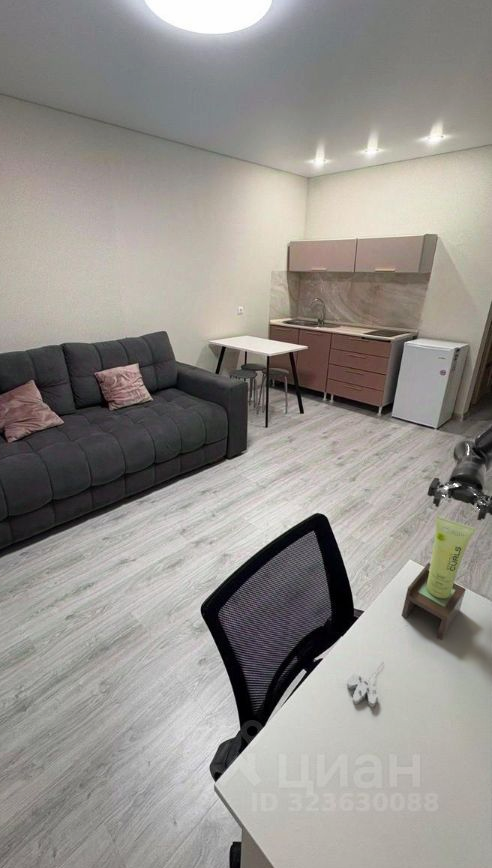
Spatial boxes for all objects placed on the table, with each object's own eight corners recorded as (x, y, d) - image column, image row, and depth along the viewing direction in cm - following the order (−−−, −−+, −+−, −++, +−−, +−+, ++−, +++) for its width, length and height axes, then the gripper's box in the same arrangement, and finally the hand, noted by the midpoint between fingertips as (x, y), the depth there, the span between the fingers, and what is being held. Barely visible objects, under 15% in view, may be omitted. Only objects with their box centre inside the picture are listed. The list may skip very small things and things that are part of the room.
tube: (430, 600, 92) (449, 529, 85) (419, 583, 97) (436, 514, 89) (454, 599, 92) (475, 528, 85) (442, 582, 97) (460, 514, 90)
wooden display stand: (421, 589, 104) (428, 562, 101) (459, 610, 98) (468, 582, 95) (401, 615, 96) (407, 587, 93) (441, 639, 90) (449, 610, 87)
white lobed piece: (343, 698, 78) (344, 689, 77) (355, 651, 87) (357, 642, 86) (373, 713, 75) (375, 704, 74) (383, 663, 85) (385, 654, 84)
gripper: (439, 459, 106) (427, 485, 94) (504, 475, 98) (500, 507, 86) (433, 484, 109) (421, 512, 96) (495, 502, 101) (490, 535, 89)
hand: (458, 509), depth 91 cm, fingers open, 8 cm apart
